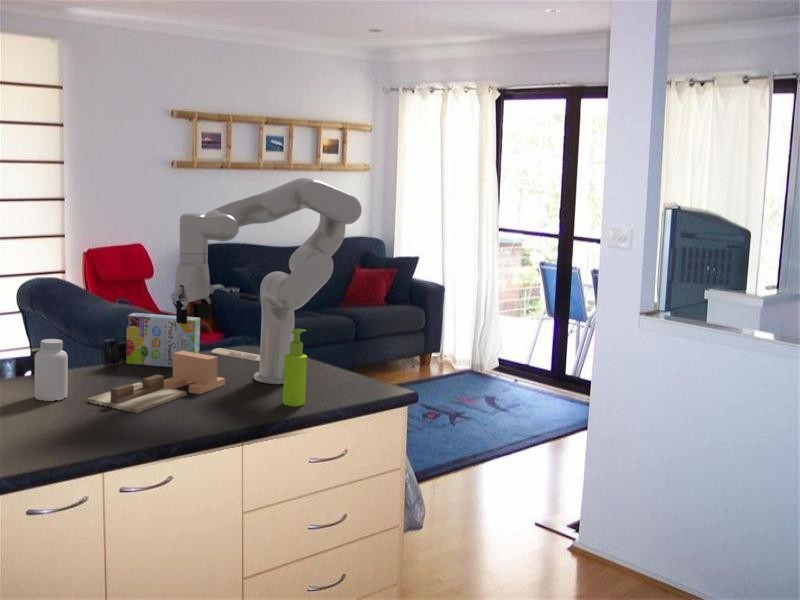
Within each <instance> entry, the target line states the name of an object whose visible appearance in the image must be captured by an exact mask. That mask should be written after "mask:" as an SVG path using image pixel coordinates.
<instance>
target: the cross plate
mask: <svg viewBox="0 0 800 600" xmlns="http://www.w3.org/2000/svg"><path fill="white" fill-rule="evenodd" d="M218 359H219V358H218V356H215V355H210V354H204V353H203V354H202V353H200V352H199V353H193V352H187V351H179V352H175V353H173V367H172V377H170V378H167V379H164V387H165V388H170V389H175V390H177V389H178V388H182V387H184V386H188V393H191V394H197V395H201V394H204V393H207V392H210V391H212V390H215V389H218V388H220V387H223V385H224V386H225V385H226V378H224V377H219V376H218V364H219V363H218Z"/></svg>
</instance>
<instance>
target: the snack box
mask: <svg viewBox="0 0 800 600" xmlns="http://www.w3.org/2000/svg"><path fill="white" fill-rule="evenodd" d="M200 336H201V318H200V317H194V316H187V324H181V323H177V322H176V315H166V314H157V313H156V314H154V313H144V312H143V313H141V312H140V313H139V312H132V313H130V314H128V315H127V316H126V357H125V358H126V364H129V365H130V364H131V365H140V366H141V365H142V366H143V365H144V366H150V367H151V366H152V367H153V366H154V367H165V368H173V353H175V352H179V351H187V352H193V353H199V354H200V344H201V343H200V340H201V339H200V338H201V337H200Z"/></svg>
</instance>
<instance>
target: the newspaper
mask: <svg viewBox="0 0 800 600" xmlns="http://www.w3.org/2000/svg"><path fill="white" fill-rule="evenodd" d="M210 354H213V355H220V356H224V357H225V356H226V357H229V358H230V357H231V358H235V359H241V360H248V361H252V362H259V363H260V354H258V353H257V354H256V353H250V352H245V351H238V350H235V349H234V350H232V349H228V348H221V347H216V348H214V349H212V350H211V351H210Z"/></svg>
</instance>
